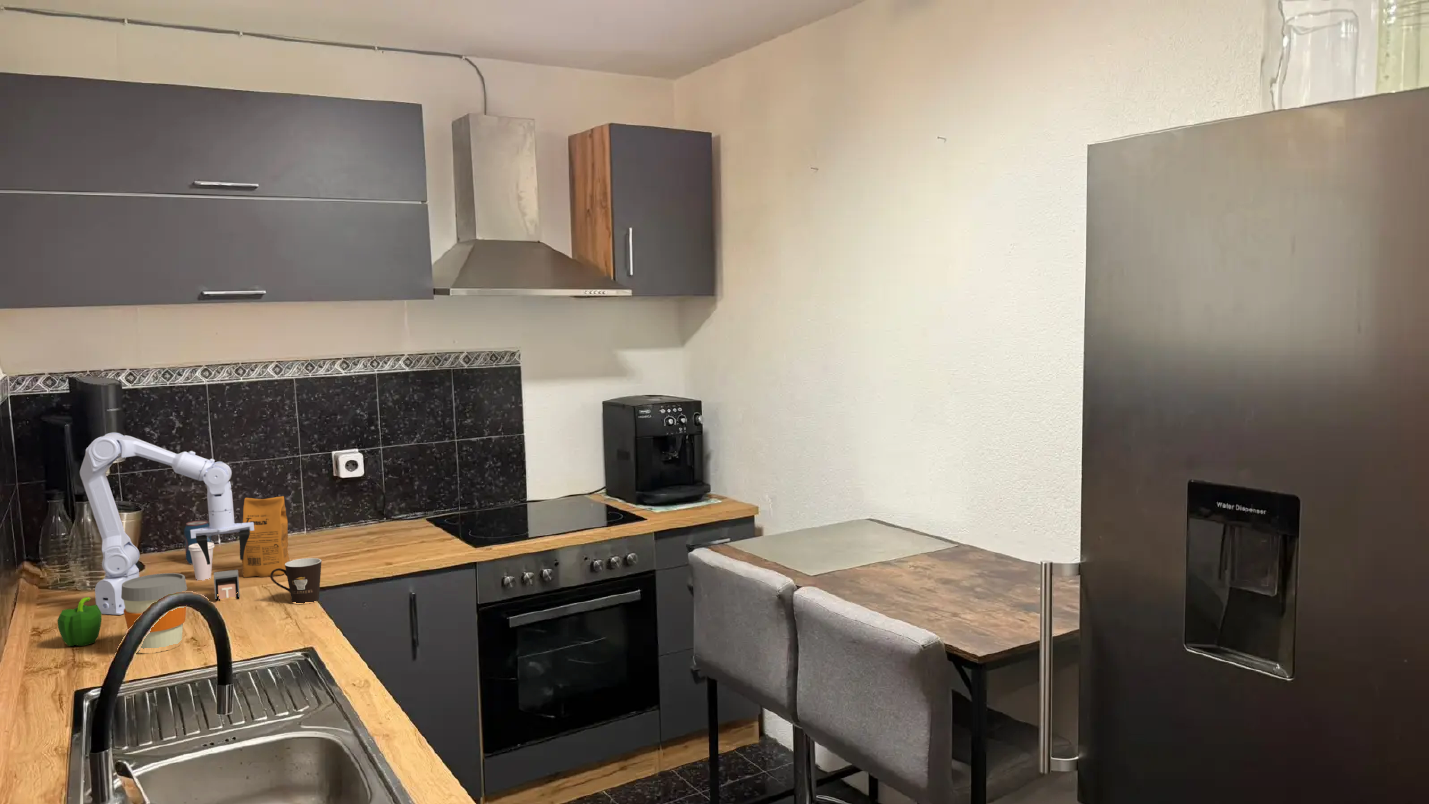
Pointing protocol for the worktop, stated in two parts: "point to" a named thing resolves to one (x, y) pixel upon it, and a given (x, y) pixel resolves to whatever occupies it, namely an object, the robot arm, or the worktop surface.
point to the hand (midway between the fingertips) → (225, 561)
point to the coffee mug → (302, 579)
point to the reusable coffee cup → (148, 591)
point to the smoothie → (201, 561)
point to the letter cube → (226, 589)
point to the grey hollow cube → (226, 579)
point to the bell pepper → (80, 624)
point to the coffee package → (265, 537)
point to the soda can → (193, 541)
